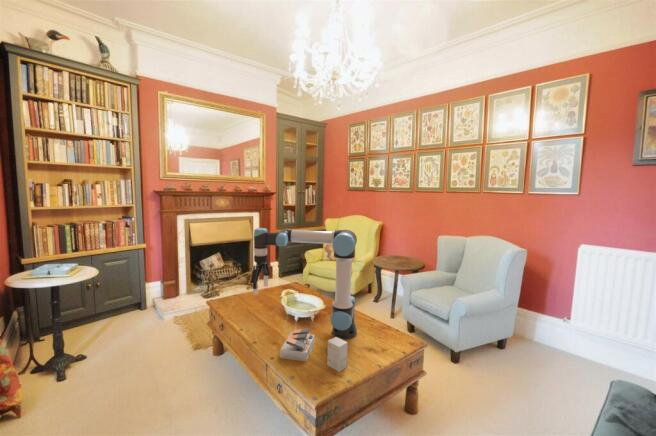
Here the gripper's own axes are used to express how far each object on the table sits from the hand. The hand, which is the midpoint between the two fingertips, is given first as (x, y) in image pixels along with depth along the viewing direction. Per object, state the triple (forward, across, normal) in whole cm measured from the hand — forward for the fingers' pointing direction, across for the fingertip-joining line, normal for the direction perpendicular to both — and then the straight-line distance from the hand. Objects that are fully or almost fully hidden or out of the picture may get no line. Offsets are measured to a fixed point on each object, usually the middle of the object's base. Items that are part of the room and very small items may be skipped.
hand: (260, 289), depth 172 cm
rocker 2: (+21, +10, +27) cm, 36 cm away
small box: (+28, +18, +50) cm, 60 cm away
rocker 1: (+21, +4, +27) cm, 35 cm away
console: (+28, +10, +27) cm, 40 cm away
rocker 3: (+21, +16, +27) cm, 38 cm away
